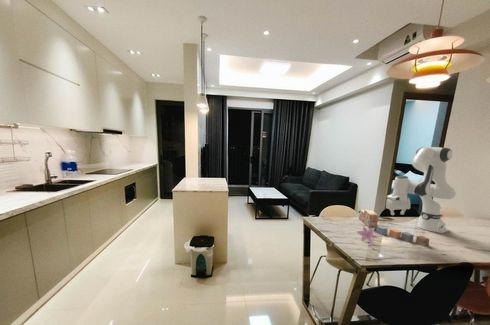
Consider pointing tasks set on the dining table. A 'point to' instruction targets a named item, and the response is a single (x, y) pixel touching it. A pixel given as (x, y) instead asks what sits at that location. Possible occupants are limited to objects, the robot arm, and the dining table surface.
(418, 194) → the robot arm
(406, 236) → the charcoal cube
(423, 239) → the walnut cube
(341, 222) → the dining table surface
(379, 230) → the slate blue cube
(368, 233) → the lily
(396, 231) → the terracotta cube
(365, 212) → the stack of blocks
